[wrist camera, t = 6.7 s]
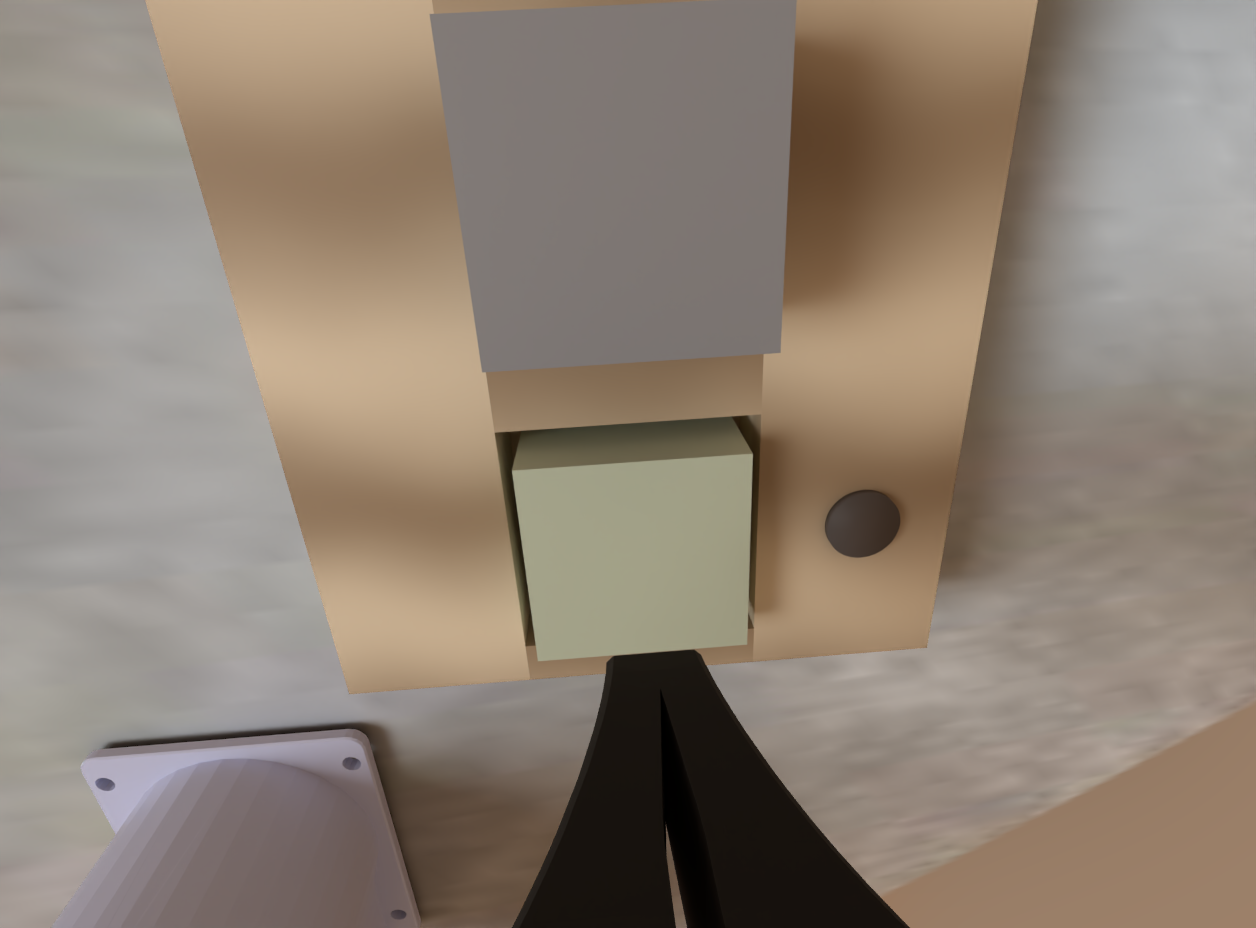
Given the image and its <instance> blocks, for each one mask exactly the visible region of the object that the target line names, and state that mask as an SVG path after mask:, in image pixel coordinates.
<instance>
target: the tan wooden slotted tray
mask: <svg viewBox="0 0 1256 928" xmlns="http://www.w3.org/2000/svg"><path fill="white" fill-rule="evenodd" d="M145 1H146V5H147V8H148V11H149V15H150V18H151V22H152V25H153V28H154V32H155V35H156V39H157V42H158V45H159V49H160V52H161V56H162V59H163V62H164V66H165V69H166V73H167V76H168V79H169V83H170V86H171V90H172V93H173V96H174V100H175V103H176V107H177V110H178V113H179V117H180V120H181V124H182V127H183V130H184V134H185V137H186V140H187V144H188V147H189V151H190V154H191V157H192V161H193V164H194V168H195V171H196V174H197V178H198V181H199V185H200V188H201V191H202V195H203V198H204V202H205V205H206V208H207V212H208V215H209V219H210V222H211V225H212V229H213V232H214V236H215V239H216V242H217V246H218V249H219V253H220V256H221V259H222V263H223V266H224V270H225V273H226V276H227V280H228V283H229V287H230V290H231V293H232V297H233V300H234V304H235V307H236V310H237V314H238V317H239V321H240V324H241V327H242V331H243V334H244V338H245V341H246V344H247V348H248V351H249V354H250V358H251V361H252V365H253V368H254V371H255V375H256V378H257V382H258V385H259V388H260V392H261V395H262V399H263V402H264V405H265V409H266V412H267V416H268V419H269V422H270V426H271V429H272V433H273V436H274V439H275V443H276V446H277V450H278V453H279V456H280V460H281V463H282V467H283V470H284V473H285V477H286V480H287V484H288V487H289V490H290V494H291V497H292V501H293V504H294V507H295V511H296V514H297V518H298V521H299V524H300V528H301V531H302V535H303V538H304V541H305V545H306V548H307V551H308V555H309V558H310V562H311V565H312V568H313V572H314V575H315V579H316V582H317V585H318V589H319V592H320V596H321V599H322V602H323V606H324V609H325V613H326V616H327V619H328V623H329V626H330V630H331V633H332V636H333V640H334V643H335V647H336V650H337V653H338V657H339V660H340V664H341V667H342V670H343V674H344V677H345V681H346V684H347V687H348V691H349V694H357V693H369V692H382V691H394V690H407V689H419V688H431V687H444V686H456V685H469V684H481V683H493V682H506V681H518V680H531V679H543V678H556V677H568V676H580V675H593V674H605V673H606V662H607V661H608V660H610V659H611V658H612V657H613V656H617V655H611V656H599V657H586V658H574V659H561V660H549V661H538V658H537V651H536V643H535V636H534V629H533V621H532V614H531V607H530V599H529V592H528V585H527V577H526V570H525V563H524V555H523V548H522V541H521V534H520V526H519V519H518V512H517V504H516V497H515V490H514V482H513V475H512V468H513V464H514V460H515V456H516V451H517V447H518V443H519V439H520V434H521V431H526V430H540V429H555V428H569V427H584V426H599V425H613V424H628V423H642V422H657V421H671V420H686V419H701V418H715V417H730V416H732V418H733V420H734V422H735V423H736V425H737V427H738V429H739V430H740V432H741V434H742V436H743V437H744V439H745V441H746V443H747V444H748V446H749V448H750V450H751V451H752V453H753V465H752V499H751V532H750V566H749V599H748V633H747V645H737V646H724V647H712V648H699V649H694V650H696V651H697V652H698V653H699V654H701V655H702V658H703V660H704V662H705V664H706V665H717V664H729V663H742V662H754V661H767V660H779V659H791V658H804V657H816V656H829V655H841V654H853V653H866V652H878V651H891V650H903V649H915V648H927V643H928V638H929V632H930V626H931V620H932V614H933V608H934V603H935V597H936V591H937V585H938V579H939V574H940V568H941V562H942V556H943V550H944V544H945V539H946V533H947V527H948V521H949V515H950V509H951V504H952V498H953V492H954V486H955V480H956V475H957V469H958V463H959V457H960V451H961V445H962V440H963V434H964V428H965V422H966V416H967V410H968V405H969V399H970V393H971V387H972V381H973V375H974V370H975V364H976V358H977V352H978V346H979V341H980V335H981V329H982V323H983V317H984V311H985V306H986V300H987V294H988V288H989V282H990V276H991V271H992V265H993V259H994V253H995V247H996V242H997V236H998V230H999V224H1000V218H1001V212H1002V207H1003V201H1004V195H1005V189H1006V183H1007V177H1008V172H1009V166H1010V160H1011V154H1012V148H1013V142H1014V137H1015V131H1016V125H1017V119H1018V113H1019V108H1020V102H1021V96H1022V90H1023V84H1024V78H1025V73H1026V67H1027V61H1028V55H1029V49H1030V43H1031V38H1032V32H1033V26H1034V20H1035V14H1036V9H1037V3H1038V0H797V3H796V25H795V47H794V69H793V91H792V112H791V134H790V156H789V178H788V200H787V222H786V244H785V266H784V288H783V309H782V331H781V353H772V354H756V355H741V356H726V357H711V358H695V359H680V360H665V361H650V362H635V363H619V364H604V365H589V366H574V367H558V368H543V369H528V370H513V371H498V372H482V368H481V361H480V355H479V348H478V341H477V334H476V327H475V321H474V314H473V307H472V300H471V293H470V287H469V280H468V273H467V266H466V259H465V253H464V246H463V239H462V232H461V225H460V219H459V212H458V205H457V198H456V191H455V185H454V178H453V171H452V164H451V157H450V151H449V144H448V137H447V130H446V123H445V117H444V110H443V103H442V96H441V89H440V83H439V76H438V69H437V62H436V55H435V49H434V42H433V35H432V28H431V21H430V15H429V14H441V13H462V12H482V11H503V10H524V9H544V8H565V7H586V6H606V5H627V4H647V3H668V2H689V1H709V0H145ZM686 650H692V649H686ZM674 651H679V650H674ZM661 652H667V651H661ZM649 653H654V652H649ZM636 654H642V653H636ZM624 655H630V654H624Z"/></svg>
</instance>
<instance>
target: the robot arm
mask: <svg viewBox="0 0 1256 928" xmlns="http://www.w3.org/2000/svg"><path fill="white" fill-rule="evenodd" d="M351 757H354V758H356V759H353V758H351ZM81 771H82V774H83V775H84V777H85V779H86V781H87V783H88V785H89V786H90V788H91V790H92V792H93V794H94V796H95V797H96V799H97V801H98V803H99V805H100V806H101V808H102V810H103V812H104V814H105V816H106V817H107V819H108V821H109V823H110V825H111V826H112V828H113V830H114V832H115V834H116V835H115V836H114V838H113V839H112V841H111V842H110V844H109V845H108V846H107V848H106V849H105V851H104V852H103V854H102V855H101V856H100V858H99V859H98V861H97V862H96V864H95V865H94V866H93V868H92V869H91V871H90V872H89V874H88V875H87V877H86V878H85V879H84V881H83V882H82V884H81V885H80V887H79V888H78V889H77V891H76V892H75V894H74V895H73V897H72V898H71V900H70V901H69V902H68V904H67V905H66V907H65V908H64V910H63V911H62V912H61V914H60V915H59V917H58V918H57V920H56V921H55V922H54V924H53V925H52V927H51V928H421V918H420V915H419V912H418V908H417V905H416V901H415V898H414V894H413V891H412V887H411V884H410V880H409V877H408V874H407V870H406V867H405V863H404V860H403V856H402V853H401V849H400V846H399V842H398V839H397V836H396V832H395V829H394V825H393V822H392V818H391V815H390V811H389V808H388V804H387V801H386V798H385V794H384V791H383V787H382V784H381V780H380V777H379V773H378V770H377V766H376V763H375V760H374V756H373V753H372V749H371V746H370V742H369V740H368V738H367V736H366V735H365V734H364V733H362V732H361V731H358V730H356V729H341V730H329V731H316V732H304V733H292V734H280V735H268V736H256V737H243V738H231V739H219V740H207V741H195V742H183V743H170V744H158V745H146V746H134V747H122V748H110V749H99V750H95V751H93V752H91V753H90V754H89V755H88V756H87V757H86V759H85V760H84V761H83V762H82V764H81ZM666 826H667V831H668V836H669V841H670V846H671V851H672V855H673V860H674V865H675V870H676V875H677V880H678V885H679V890H680V895H681V900H682V904H683V909H684V914H685V919H686V924H687V928H910V927H909V926H907V924H906V923H905V922H904V921H902V919H901V918H900V917H899V916H898V915H897V914H896V913H895V912H894V911H893V910H892V909H891V908H890V907H889V906H888V905H887V904H886V903H885V902H884V901H883V900H882V899H881V897H880V896H879V895H878V894H877V893H876V892H875V891H874V890H873V889H872V888H871V887H870V886H869V885H868V884H867V883H866V882H865V881H864V879H863V878H862V877H861V876H860V875H859V874H858V873H857V872H856V871H855V870H854V868H853V867H852V866H851V865H850V864H849V863H848V862H847V861H846V860H845V858H844V857H843V856H842V855H841V854H840V853H839V852H838V851H837V849H836V848H835V847H834V846H833V845H832V844H831V843H830V841H829V840H828V839H827V838H826V837H825V836H824V834H823V833H822V832H821V831H820V830H819V828H818V827H817V826H816V825H815V824H814V822H813V821H812V820H811V819H810V817H809V816H808V815H807V814H806V812H805V811H804V810H803V809H802V807H801V806H800V805H799V804H798V802H797V801H796V800H795V799H794V797H793V796H792V795H791V793H790V792H789V791H788V790H787V788H786V787H785V786H784V784H783V783H782V782H781V780H780V779H779V778H778V776H777V775H776V774H775V772H774V771H773V770H772V768H771V767H770V766H769V764H768V763H767V761H766V760H765V759H764V757H763V756H762V754H761V753H760V751H759V750H758V749H757V747H756V746H755V744H754V743H753V741H752V740H751V739H750V737H749V736H748V734H747V733H746V731H745V730H744V728H743V727H742V725H741V724H740V722H739V721H738V719H737V718H736V716H735V715H734V713H733V711H732V710H731V708H730V707H729V705H728V703H727V702H726V700H725V698H724V697H723V695H722V693H721V692H720V690H719V688H718V687H717V685H716V683H715V681H714V679H713V678H712V676H711V674H710V672H709V670H708V668H707V666H706V664H705V662H704V660H703V658H702V655H701V654H699V653H698V652H697V651H696V650H694V649H692V650H679V651H667V652H654V653H642V654H630V655H617V656H613V657H612V658H611V659H610V660H608V661H607V662H606V676H605V683H604V689H603V694H602V699H601V704H600V708H599V712H598V715H597V719H596V723H595V727H594V731H593V734H592V737H591V740H590V743H589V746H588V749H587V753H586V756H585V759H584V762H583V765H582V768H581V771H580V774H579V777H578V780H577V782H576V785H575V788H574V790H573V793H572V795H571V798H570V800H569V803H568V805H567V808H566V811H565V813H564V816H563V818H562V821H561V823H560V826H559V828H558V831H557V833H556V836H555V838H554V840H553V843H552V845H551V847H550V850H549V852H548V854H547V856H546V859H545V861H544V863H543V865H542V867H541V870H540V872H539V874H538V876H537V878H536V880H535V882H534V884H533V887H532V889H531V891H530V893H529V895H528V897H527V899H526V901H525V903H524V905H523V907H522V909H521V911H520V913H519V915H518V917H517V919H516V921H515V923H514V925H513V927H512V928H676V926H675V918H674V911H673V903H672V896H671V888H670V880H669V873H668V865H667V856H666Z"/></svg>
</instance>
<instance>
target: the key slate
mask: <svg viewBox="0 0 1256 928" xmlns="http://www.w3.org/2000/svg"><path fill="white" fill-rule="evenodd" d="M796 3H797V0H709V1H689V2H668V3H647V4H627V5H606V6H586V7H565V8H544V9H524V10H503V11H482V12H462V13H441V14H429V15H430V21H431V28H432V35H433V42H434V49H435V55H436V62H437V69H438V76H439V83H440V89H441V96H442V103H443V110H444V117H445V123H446V130H447V137H448V144H449V151H450V157H451V164H452V171H453V178H454V185H455V191H456V198H457V205H458V212H459V219H460V225H461V232H462V239H463V246H464V253H465V259H466V266H467V273H468V280H469V287H470V293H471V300H472V307H473V314H474V321H475V327H476V334H477V341H478V348H479V355H480V361H481V368H482V372H498V371H513V370H528V369H543V368H558V367H574V366H589V365H604V364H619V363H635V362H650V361H665V360H680V359H695V358H711V357H726V356H741V355H756V354H772V353H781V331H782V309H783V288H784V266H785V244H786V222H787V200H788V178H789V156H790V134H791V112H792V91H793V69H794V47H795V25H796Z"/></svg>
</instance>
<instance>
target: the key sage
mask: <svg viewBox="0 0 1256 928" xmlns="http://www.w3.org/2000/svg"><path fill="white" fill-rule="evenodd" d="M752 465H753V453H752V451H751V450H750V448H749V446H748V444H747V443H746V441H745V439H744V437H743V436H742V434H741V432H740V430H739V429H738V427H737V425H736V423H735V422H734V420H733V418H732V416H730V417H715V418H701V419H686V420H671V421H657V422H642V423H628V424H613V425H599V426H584V427H569V428H555V429H540V430H526V431H521V434H520V439H519V443H518V447H517V451H516V456H515V460H514V464H513V468H512V475H513V482H514V490H515V497H516V504H517V512H518V519H519V526H520V534H521V541H522V548H523V555H524V563H525V570H526V577H527V585H528V592H529V599H530V607H531V614H532V621H533V629H534V636H535V643H536V651H537V658H538V661H549V660H561V659H574V658H586V657H599V656H611V655H624V654H636V653H649V652H661V651H674V650H686V649H699V648H712V647H724V646H737V645H747V633H748V599H749V566H750V532H751V499H752Z"/></svg>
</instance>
